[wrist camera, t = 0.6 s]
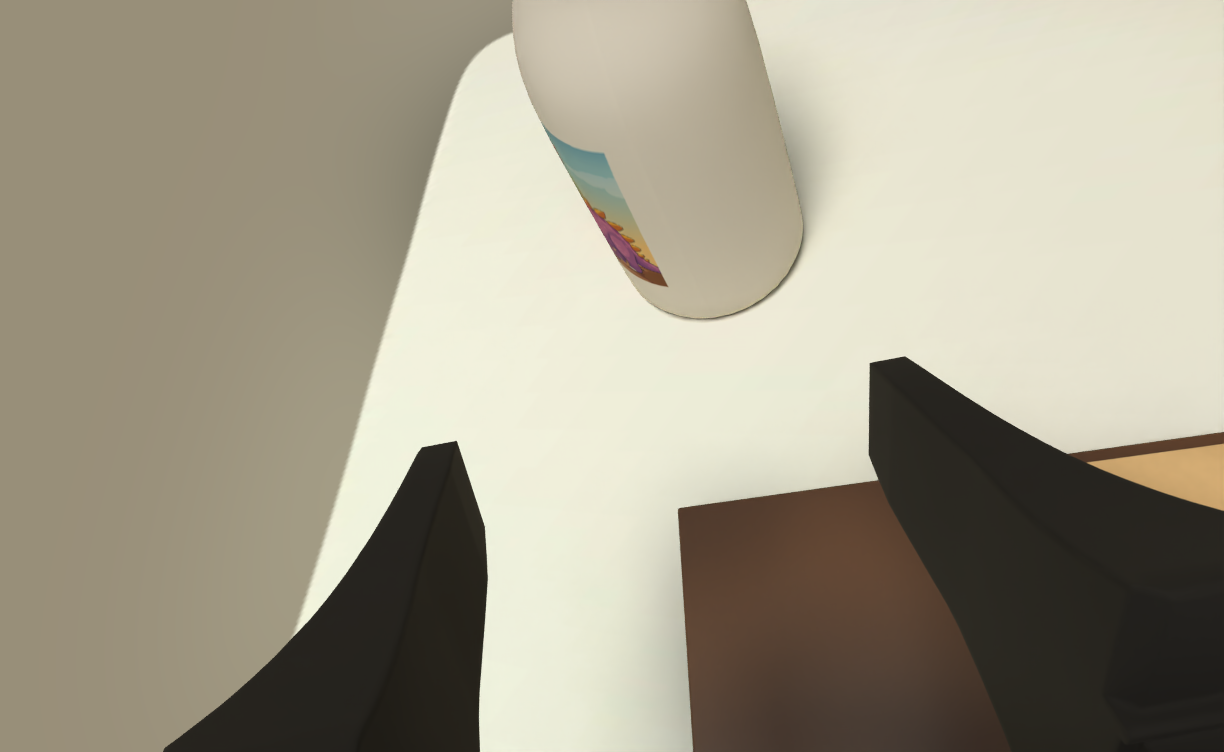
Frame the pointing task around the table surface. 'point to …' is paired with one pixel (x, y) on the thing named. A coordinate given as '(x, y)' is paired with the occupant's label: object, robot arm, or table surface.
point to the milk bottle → (668, 142)
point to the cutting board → (853, 617)
